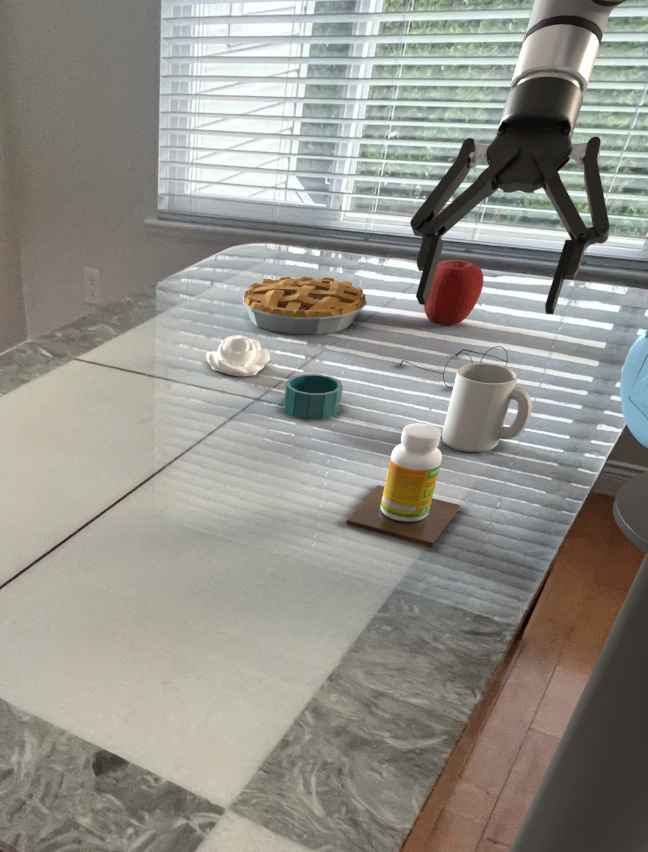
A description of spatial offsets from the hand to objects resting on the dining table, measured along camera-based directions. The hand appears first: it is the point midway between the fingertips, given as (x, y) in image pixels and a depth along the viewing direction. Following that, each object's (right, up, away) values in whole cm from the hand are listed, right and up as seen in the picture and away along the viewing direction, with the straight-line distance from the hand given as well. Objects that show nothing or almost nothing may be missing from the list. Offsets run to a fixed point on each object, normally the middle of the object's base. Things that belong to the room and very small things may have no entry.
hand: (482, 305), depth 93 cm
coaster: (-7, -22, +5) cm, 24 cm away
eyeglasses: (+11, +8, +37) cm, 39 cm away
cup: (+8, -9, +18) cm, 22 cm away
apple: (+18, +24, +54) cm, 62 cm away
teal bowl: (-12, -1, +29) cm, 31 cm away
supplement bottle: (-7, -22, +4) cm, 24 cm away
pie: (-7, +27, +59) cm, 65 cm away
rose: (-21, +11, +42) cm, 48 cm away
